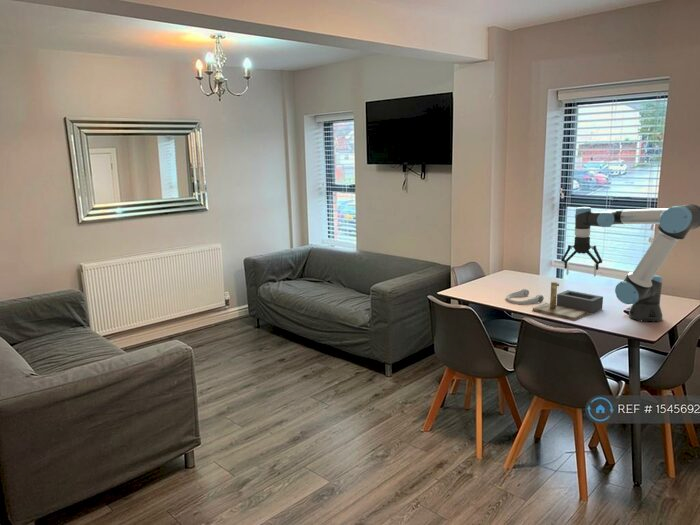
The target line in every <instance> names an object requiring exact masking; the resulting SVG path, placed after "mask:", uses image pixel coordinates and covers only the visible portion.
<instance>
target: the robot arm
mask: <svg viewBox="0 0 700 525" xmlns="http://www.w3.org/2000/svg"><path fill="white" fill-rule="evenodd" d="M574 216H575V217H574V218H575V220H574V221H575V224H574V225H575V226H574V244H568V245H567V250H566V251H565V253H564V254H563V256H562V258H561V260H560V262H563V263H564V269H566V275H567V276H568V275H569V271H570V270H569V268H570V267H569V266H570V262H569V261H570V260H571V259H572V258H573V257H574V256H575V255H576V254H579V255H580V254H583V255H585V254H587V255H588V256H589V257H590V258H591V260H592V261H593V262H594V264H593V265H594V266H593V270H594V271H593V277H596V276H597V271H598V270H599V267H600V266H599V265H600V264H602V263H603V259H602V257H601V255H600V253H599V251H598V250H597V245H596V244H594V245H590V244H591V227H600V228H610V227H612V225H658V226H657V229H658V233H657V235H656V236H655V237H654V240H653V241H652V242H651V244H650V245H649V247H648V248H647V251H646V252H645V253H644V255H643V256H642V258H641V259H640V261H639V263H638V264H637V266H636V267H635V269H634V271H630V272H628V273H627V275H626V276H625V277H624V279H623V281H620V282H619V283H617V284H616V285H615V289H614V292H615V296H616V298H617V300H619V302H621V303H623V304H625V305H631V307H630V309H629V312H628V317H629V316H630V317H631V318H630V317H629V318H630V319H632V318H634V319H637V320H636V321H638V320H642V321H641V322H643V321H652V322H651V323H656V322H655V321H659V322H662V321H663V311H662V308H661V294H662V286H663V278H662V276H660V275H659V274H658V275H657V273H658V271H659V270H660V269H661V267H662V266H663V264H664V262H665V261H666V260H667V258H668V257H669V255H670V253H671V252H672V250H673V249H674V247H675V246H676V245H677V243H678V241H683V240H685V238H686V236H687V235H688V233H689V232H690V231H691V230H696V229H697V228H700V205H697V204H693V203H690V204H689V203H688V204H683V205H674V206H670V207H669V208H641V209H640V208H639V209H638V208H636V209H630V208H629V209H619V208H618V209H616V208H615V209H613V210H604V211H592V208H591V207H589V206H579V207H576V208H575V215H574ZM572 249H574V250H573V252H572V253H571V254H570V255H569V256H568V254H569V253H570V250H572ZM590 249H591V250H593V251H594V254H595V256H596V257H597V258H596V257H595V256H594V255H593V254H592V252H591V251H590ZM567 256H568V257H567ZM566 257H567V258H566ZM597 259H598V260H597ZM634 319H633V320H634ZM661 320H662V321H661Z"/></svg>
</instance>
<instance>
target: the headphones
mask: <svg viewBox="0 0 700 525" xmlns="http://www.w3.org/2000/svg"><path fill="white" fill-rule="evenodd" d="M529 295H530V290H528V289H527V288H522V289H521V290H518V291H515V292H511V293H509V294H508V295H507V296H506V301H507V300H508V301H507V302H509V303H511V302H512V303H513V304H515V303H517V305H532V303H534V304H539V303H538V302H540V303H543V301H544V295H543V294H537V295H536V296H535V297H532V298H529V299H526V300H513V297H514V298H522V297H521V296H524V297H528V296H529Z"/></svg>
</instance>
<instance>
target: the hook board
mask: <svg viewBox="0 0 700 525" xmlns="http://www.w3.org/2000/svg"><path fill="white" fill-rule="evenodd" d="M558 287H560V283H558V282H557V281H551V282H550V299H549V300H550V301H549V302H545V303H542V304H539V305H537V306H535V307H532V309H531V310H532V311H533V312H536V313H540V312H541V314H545V315H549V316H553V317H557V316H558V318H563V319H567V320H571V321H577V320H580V319H581V318H583V317H585V315H586V316H588V315H589V313H588V312H587V311H582V310H577V309H573V308H568V307H563V306H558V305H557V294H558V293H557V292H558V291H557V290H558ZM587 314H588V315H587ZM582 316H583V317H582ZM580 317H581V318H580ZM576 319H577V320H576Z"/></svg>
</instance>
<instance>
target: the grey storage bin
mask: <svg viewBox="0 0 700 525" xmlns="http://www.w3.org/2000/svg"><path fill="white" fill-rule="evenodd" d="M603 302H604V296H601V295H596V294H591V293H587V292H586V293H585V292H580V291H576V290H575V291H574V290H569V289H568V290H564V291H562V292H559V293H557V296H556V305H558V306H563V307H568V308H573V309H577V310H582V311H587V312H588V314H590V313H593V314H594V312H595V313H596V311H597V312H599V311H601V310H602V309H603V304H604V303H603ZM598 310H599V311H598Z"/></svg>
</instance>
